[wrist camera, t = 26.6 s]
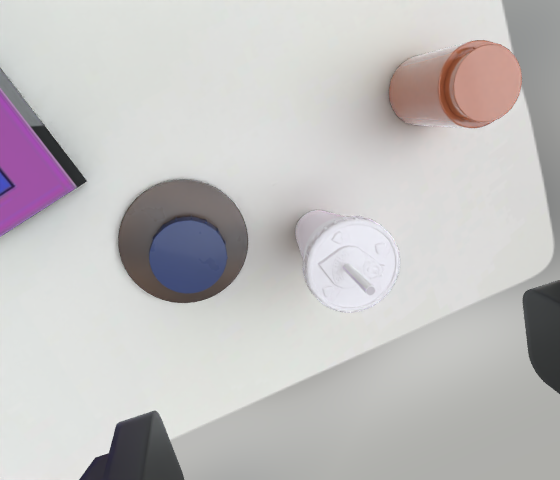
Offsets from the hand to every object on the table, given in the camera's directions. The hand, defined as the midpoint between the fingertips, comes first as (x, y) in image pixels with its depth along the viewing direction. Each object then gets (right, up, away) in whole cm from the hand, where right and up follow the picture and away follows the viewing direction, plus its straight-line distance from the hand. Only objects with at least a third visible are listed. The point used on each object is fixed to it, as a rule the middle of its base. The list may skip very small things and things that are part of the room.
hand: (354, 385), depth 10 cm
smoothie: (+2, +4, +30) cm, 30 cm away
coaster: (-9, +3, +28) cm, 30 cm away
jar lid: (-9, +2, +26) cm, 28 cm away
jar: (+10, +15, +28) cm, 33 cm away
